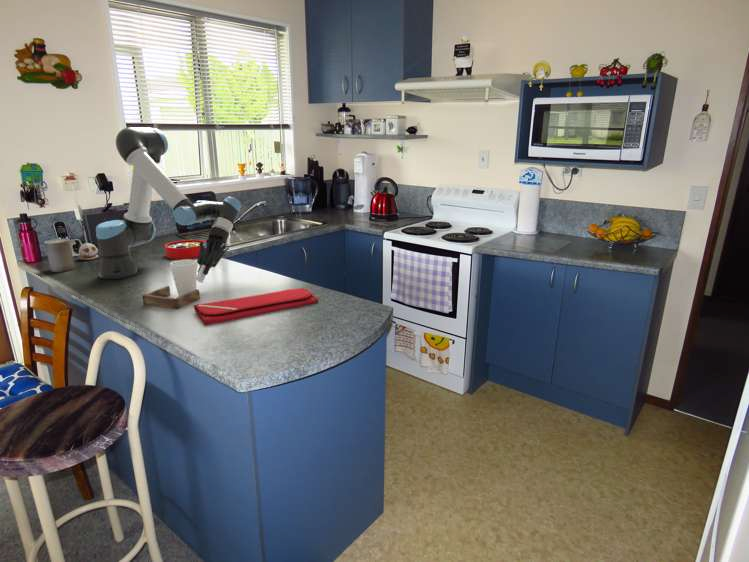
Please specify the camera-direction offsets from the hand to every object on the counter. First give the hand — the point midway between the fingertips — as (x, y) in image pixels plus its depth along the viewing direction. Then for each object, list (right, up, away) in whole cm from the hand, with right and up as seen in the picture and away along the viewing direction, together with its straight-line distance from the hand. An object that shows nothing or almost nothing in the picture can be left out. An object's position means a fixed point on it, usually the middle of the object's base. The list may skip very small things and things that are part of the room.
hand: (199, 281), depth 189 cm
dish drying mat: (+27, -10, -17) cm, 34 cm away
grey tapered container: (-76, +5, +33) cm, 83 cm away
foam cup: (-3, -6, -4) cm, 7 cm away
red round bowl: (-28, +13, +59) cm, 67 cm away
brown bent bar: (-6, -7, -10) cm, 14 cm away
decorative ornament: (-74, +11, +52) cm, 92 cm away
